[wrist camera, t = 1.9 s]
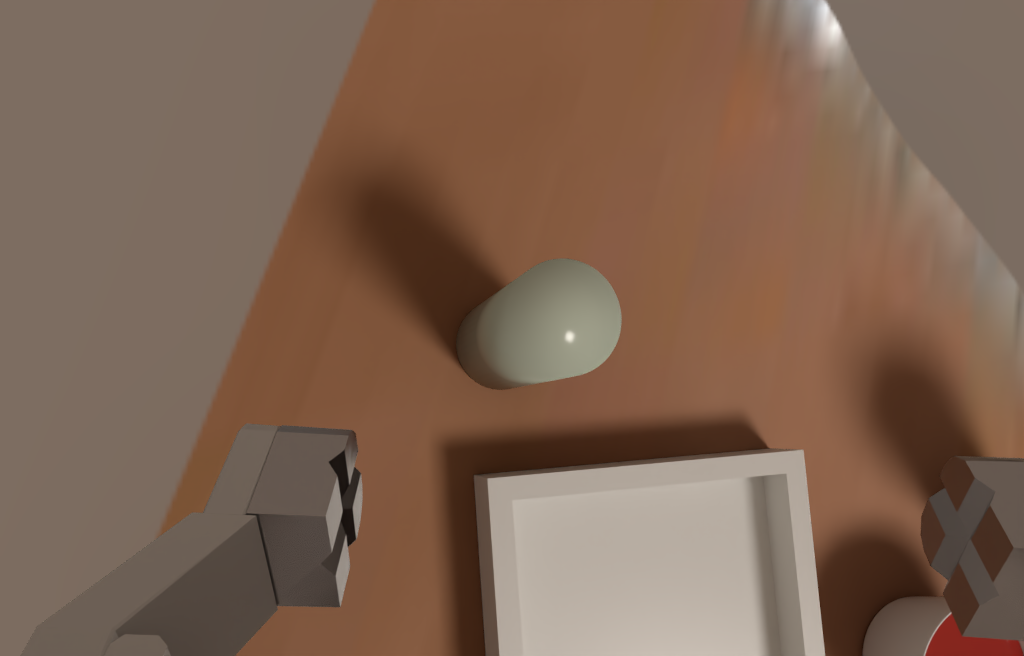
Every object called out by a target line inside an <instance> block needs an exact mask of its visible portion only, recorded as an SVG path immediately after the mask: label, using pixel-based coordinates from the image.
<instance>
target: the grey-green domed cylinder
mask: <svg viewBox="0 0 1024 656" xmlns="http://www.w3.org/2000/svg"><path fill="white" fill-rule="evenodd" d="M620 330H621V310H620V305H619V302H618V299H617V296H616V294H615V292H614V290H613V288H612V286H611V285H610V284H609V282H608V281H607V280H606V279H605V278H604V276H603V275H602V274H600V273H599V272H598V271H597V270H596V269H594V268H592V267H591V266H589V265H587V264H585V263H583V262H580V261H576V260H572V259H553V260H548V261H545V262H542V263H540V264H538V265H536V266H534V267H533V268H531V269H530V270H528V271H527V272H525V273H524V274H523V275H521V276H520V277H518V278H517V279H515V280H514V281H513V282H511V283H510V284H508V285H507V286H505V287H504V288H503V289H501V290H500V291H498V292H497V293H495V294H494V295H493V296H491V297H490V298H488V299H487V300H485V301H484V302H483V303H481V304H480V305H478V306H477V307H475V308H474V309H473V310H471V311H470V312H469V313H468V314H467V315H466V317H465V318H464V319H463V321H462V323H461V325H460V327H459V330H458V333H457V339H456V350H457V355H458V359H459V361H460V364H461V366H462V367H463V369H464V371H465V372H466V373H467V374H468V375H469V377H470V378H471V379H473V380H474V381H475V382H477V383H478V384H480V385H482V386H484V387H487V388H491V389H496V390H505V389H512V388H517V387H522V386H527V385H532V384H537V383H542V382H547V381H553V380H558V379H563V378H568V377H573V376H578V375H582V374H585V373H587V372H590V371H592V370H594V369H595V368H597V367H598V366H599V365H601V364H602V363H603V362H604V361H605V360H606V359H607V358H608V357H609V355H610V354H611V353H612V351H613V350H614V348H615V346H616V344H617V341H618V338H619V335H620Z"/></svg>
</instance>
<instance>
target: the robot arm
mask: <svg viewBox="0 0 1024 656" xmlns="http://www.w3.org/2000/svg"><path fill="white" fill-rule="evenodd" d="M357 453H358V445H357V439H356V433H355V432H354V431H353V430H343V429H328V428H314V427H299V426H284V425H282V426H272V425H258V424H245V425H244V426H243V427H242V428H241V429H240V430H239V431H238V433H237V436H236V438H235V440H234V443H233V445H232V447H231V450H230V452H229V454H228V456H227V459H226V461H225V463H224V466H223V468H222V470H221V473H220V475H219V477H218V480H217V482H216V484H215V486H214V489H213V491H212V493H211V496H210V498H209V500H208V503H207V505H206V507H205V509H204V512H203V513H191V514H190V515H188V516H187V517H186V518H184V519H183V520H181V521H180V522H179V523H177V524H176V525H175V526H173V527H172V528H171V529H169V530H168V531H166V532H165V533H164V534H162V535H161V536H160V537H158V538H157V539H156V540H154V541H153V542H151V543H150V544H149V545H147V546H146V547H145V548H143V549H142V550H141V551H139V552H138V553H136V554H135V555H134V556H133V557H131V558H130V559H128V560H127V561H126V562H124V563H123V564H121V565H120V566H119V567H117V568H116V569H115V570H113V571H112V572H111V573H109V574H108V575H107V576H105V577H104V578H102V579H101V580H100V581H98V582H97V583H96V584H94V585H93V586H91V587H90V588H89V589H87V590H86V591H85V592H84V593H82V594H81V595H79V596H78V597H77V598H75V599H74V600H72V601H71V602H70V603H68V604H67V605H66V606H64V607H63V608H62V609H60V610H59V611H57V612H56V613H55V614H53V615H52V616H51V617H49V618H48V619H46V620H45V621H44V622H43V623H41V624H40V625H38V626H37V627H36V629H35V631H34V633H33V634H32V636H31V638H30V640H29V642H28V643H27V645H26V647H25V649H24V650H23V653H22V654H21V656H235V655H236V654H237V653H238V652H239V651H240V650H241V649H242V647H243V646H244V645H245V644H246V643H247V642H248V641H249V640H250V639H251V638H252V637H253V636H254V635H255V634H256V632H257V631H258V630H259V629H260V628H261V627H262V626H263V625H264V624H265V623H266V622H267V621H268V620H269V618H270V617H271V616H272V615H273V614H274V613H275V612H276V611H277V610H278V609H277V606H308V607H340V606H341V602H342V598H343V594H344V589H345V585H346V581H347V577H348V573H349V569H350V561H349V554H348V546H349V545H351V544H352V543H353V542H354V541H355V540H356V539H357V534H358V529H359V525H360V518H361V509H362V479H361V473H360V472H359V471H358V470H357V469H356V468H355V467H354V465H355V461H356V457H357ZM939 477H940V479H941V481H942V483H943V485H944V487H945V488H944V489H942V490H941V491H939V492H938V493H936V494H935V495H933V496H931V497H930V498H928V501H927V503H926V506H925V508H924V511H923V513H922V516H921V539H922V544H923V548H924V552H925V554H926V556H927V559H928V561H929V563H930V566H931V567H933V568H934V569H935V570H936V571H938V572H939V573H940V574H941V575H942V576H944V577H945V578H946V579H947V580H948V582H947V584H946V587H945V589H944V592H943V595H944V598H945V600H946V602H947V604H948V606H949V609H950V611H951V613H952V615H953V618H954V620H955V622H956V624H957V626H958V629H959V631H960V633H961V635H962V636H964V637H978V638H992V639H1005V640H1019V641H1024V459H1023V458H996V457H967V456H953V457H952V458H951V459H950V460H948V461H947V462H946V463H945V465H944V467H943V469H942V471H941V473H940V475H939Z"/></svg>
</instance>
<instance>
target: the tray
mask: <svg viewBox="0 0 1024 656" xmlns="http://www.w3.org/2000/svg"><path fill="white" fill-rule="evenodd" d="M474 487H475V502H476V518H477V533H478V548H479V563H480V578H481V593H482V608H483V623H484V638H485V653H486V656H825V649H824V640H823V630H822V621H821V611H820V602H819V593H818V583H817V574H816V564H815V555H814V545H813V536H812V527H811V517H810V508H809V498H808V489H807V479H806V470H805V460H804V451H803V450H796V449H772V448H768V449H757V450H746V451H735V452H724V453H713V454H701V455H690V456H679V457H668V458H657V459H646V460H634V461H623V462H612V463H601V464H590V465H579V466H568V467H556V468H545V469H534V470H523V471H512V472H501V473H489V474H478V475H474Z"/></svg>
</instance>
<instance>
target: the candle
mask: <svg viewBox="0 0 1024 656" xmlns="http://www.w3.org/2000/svg"><path fill="white" fill-rule="evenodd" d="M863 656H1024V641H1019V640H1005V639H992V638H978V637H964V636H962V635H961V633H960V631H959V629H958V626H957V624H956V622H955V620H954V618H953V615H952V613H951V611H950V609H949V606H948V604H947V602H946V600H945V598H944V596H911V597H904V598H900V599H897V600H895V601H892V602H891V603H889V604H887V605H886V606H885V607H883V608H882V609H881V610H880V611H879V612H878V613H877V614H876V616H875V617H874V618H873V620H872V622H871V623H870V625H869V627H868V630H867V632H866V635H865V639H864V644H863Z"/></svg>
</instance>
